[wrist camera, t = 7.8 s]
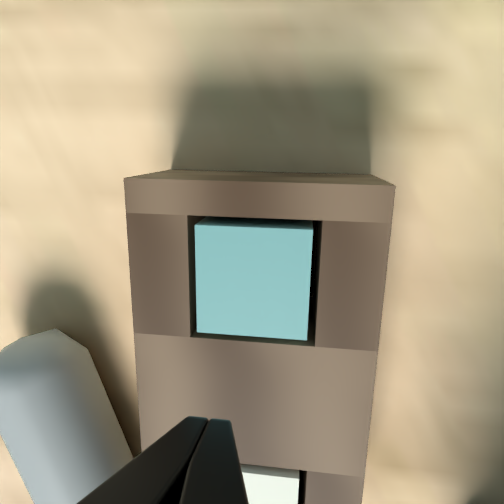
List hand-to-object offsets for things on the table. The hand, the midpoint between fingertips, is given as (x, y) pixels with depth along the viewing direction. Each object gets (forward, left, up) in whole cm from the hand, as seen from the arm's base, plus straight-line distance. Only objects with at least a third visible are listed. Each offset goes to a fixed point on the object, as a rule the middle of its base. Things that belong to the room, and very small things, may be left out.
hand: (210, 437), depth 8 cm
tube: (+8, +16, -12) cm, 22 cm away
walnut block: (0, +4, -12) cm, 13 cm away
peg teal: (0, -1, -12) cm, 12 cm away
